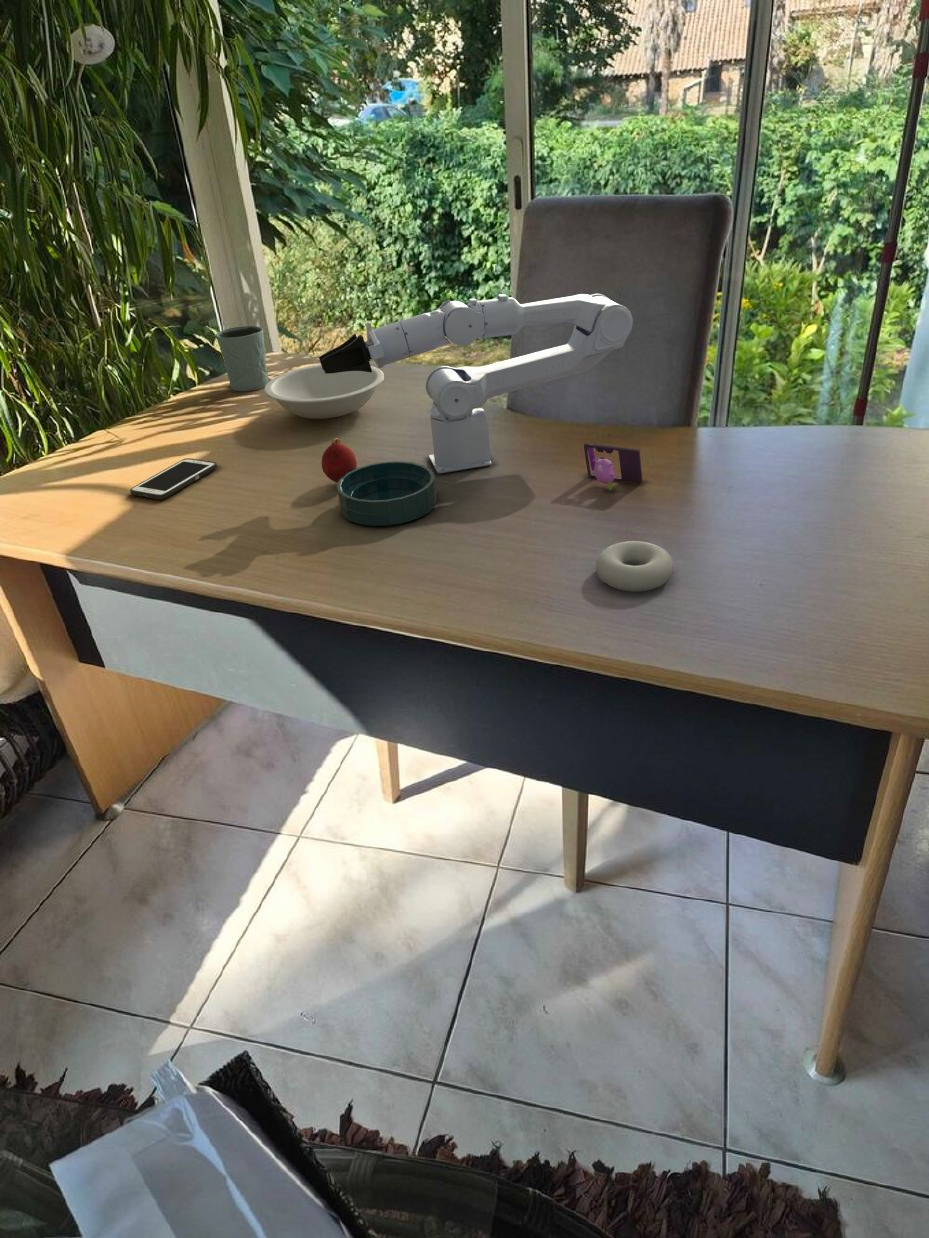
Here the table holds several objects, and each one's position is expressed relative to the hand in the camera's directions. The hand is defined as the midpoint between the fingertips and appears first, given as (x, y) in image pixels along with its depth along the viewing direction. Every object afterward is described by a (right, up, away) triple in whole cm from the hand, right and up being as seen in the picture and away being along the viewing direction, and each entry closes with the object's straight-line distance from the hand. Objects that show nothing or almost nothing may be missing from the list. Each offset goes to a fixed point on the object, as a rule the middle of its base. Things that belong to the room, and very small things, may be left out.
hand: (321, 365), depth 137 cm
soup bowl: (-5, +2, +41) cm, 41 cm away
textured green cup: (-26, +13, +61) cm, 68 cm away
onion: (+2, -17, +10) cm, 20 cm away
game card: (+46, -19, +2) cm, 50 cm away
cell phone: (-28, -16, +16) cm, 36 cm away
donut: (+45, -35, -22) cm, 61 cm away
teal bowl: (+11, -22, +1) cm, 25 cm away
